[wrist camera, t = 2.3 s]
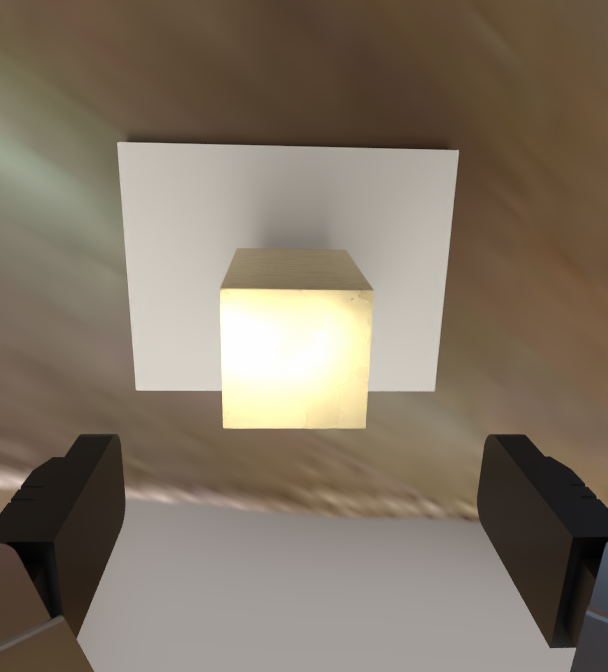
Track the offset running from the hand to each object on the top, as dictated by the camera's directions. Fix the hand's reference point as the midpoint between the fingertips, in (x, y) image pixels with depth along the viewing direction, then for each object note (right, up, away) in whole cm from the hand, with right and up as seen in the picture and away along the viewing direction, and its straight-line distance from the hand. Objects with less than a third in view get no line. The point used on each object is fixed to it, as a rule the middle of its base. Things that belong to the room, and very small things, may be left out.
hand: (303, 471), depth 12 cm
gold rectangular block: (-1, +5, +14) cm, 15 cm away
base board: (-1, +7, +21) cm, 23 cm away
